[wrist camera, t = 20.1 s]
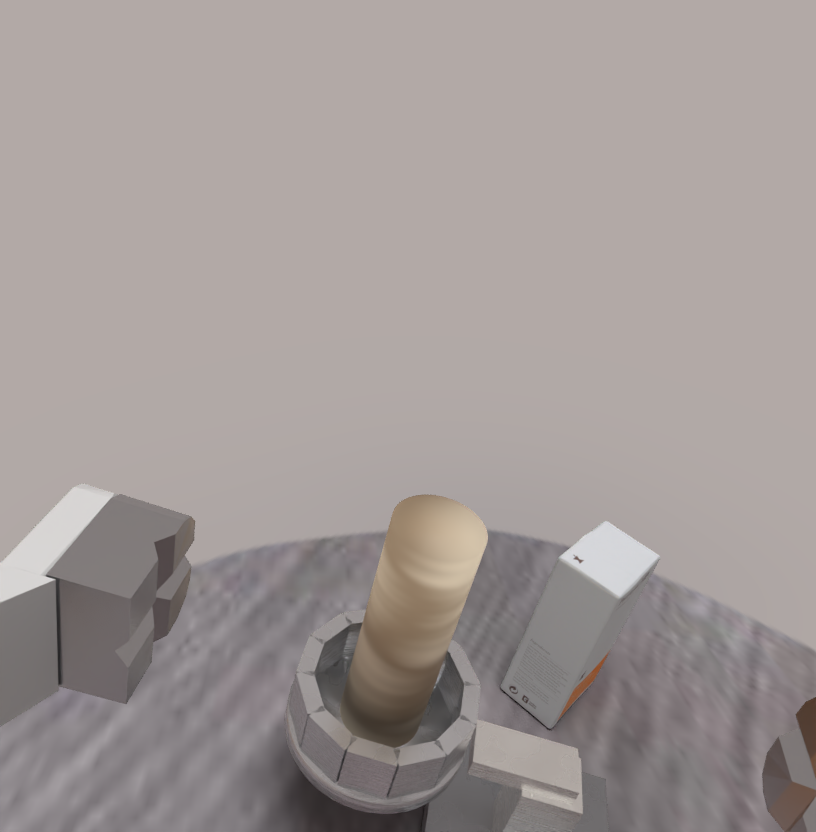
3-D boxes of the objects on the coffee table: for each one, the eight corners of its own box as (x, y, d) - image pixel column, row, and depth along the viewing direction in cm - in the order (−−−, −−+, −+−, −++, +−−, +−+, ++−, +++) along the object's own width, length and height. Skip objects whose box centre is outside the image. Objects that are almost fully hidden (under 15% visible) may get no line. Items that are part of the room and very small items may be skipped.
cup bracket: (596, 793, 45) (666, 678, 39) (606, 984, 36) (697, 871, 31) (297, 705, 45) (326, 580, 40) (238, 873, 37) (264, 742, 31)
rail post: (425, 690, 38) (491, 510, 32) (413, 759, 35) (483, 572, 29) (350, 668, 39) (401, 484, 32) (330, 734, 35) (383, 543, 29)
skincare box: (551, 733, 48) (619, 600, 42) (497, 688, 50) (555, 555, 44) (596, 683, 52) (663, 555, 46) (545, 644, 54) (603, 516, 48)
